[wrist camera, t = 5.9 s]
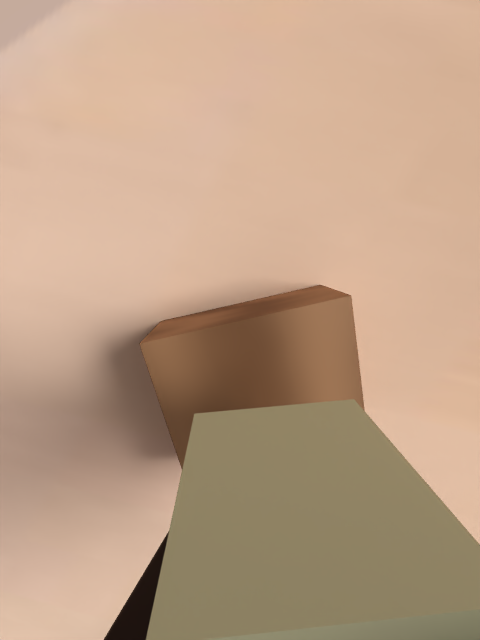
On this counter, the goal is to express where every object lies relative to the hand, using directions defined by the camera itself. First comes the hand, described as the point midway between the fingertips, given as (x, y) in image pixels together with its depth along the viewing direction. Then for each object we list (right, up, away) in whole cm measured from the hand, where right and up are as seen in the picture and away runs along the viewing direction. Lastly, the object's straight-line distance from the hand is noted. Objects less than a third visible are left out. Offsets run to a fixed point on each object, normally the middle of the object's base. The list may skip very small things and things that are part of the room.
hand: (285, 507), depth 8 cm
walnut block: (0, +2, +8) cm, 9 cm away
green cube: (0, 0, +1) cm, 1 cm away
